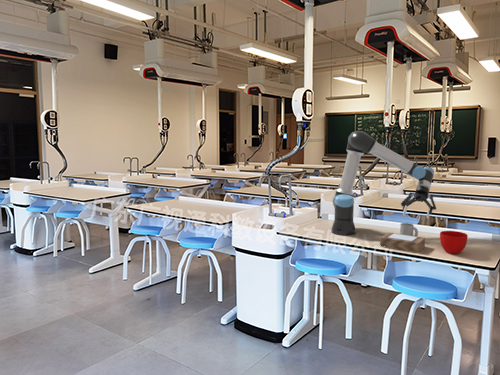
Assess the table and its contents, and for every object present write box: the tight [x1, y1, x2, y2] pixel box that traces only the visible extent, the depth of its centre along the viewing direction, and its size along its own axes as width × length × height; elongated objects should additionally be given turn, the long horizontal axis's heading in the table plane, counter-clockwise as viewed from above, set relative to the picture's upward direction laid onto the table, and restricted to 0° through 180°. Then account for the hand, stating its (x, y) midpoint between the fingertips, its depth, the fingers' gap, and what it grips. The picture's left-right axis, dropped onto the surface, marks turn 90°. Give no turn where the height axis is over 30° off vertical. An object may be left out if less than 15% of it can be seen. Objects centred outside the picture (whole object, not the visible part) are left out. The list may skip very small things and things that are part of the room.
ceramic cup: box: [439, 230, 468, 255], centre depth 211 cm, size 13×17×10 cm
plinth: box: [379, 232, 426, 253], centre depth 221 cm, size 20×14×5 cm
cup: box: [399, 222, 419, 237], centre depth 234 cm, size 7×10×9 cm
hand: (415, 216), depth 240 cm, fingers open, 13 cm apart
